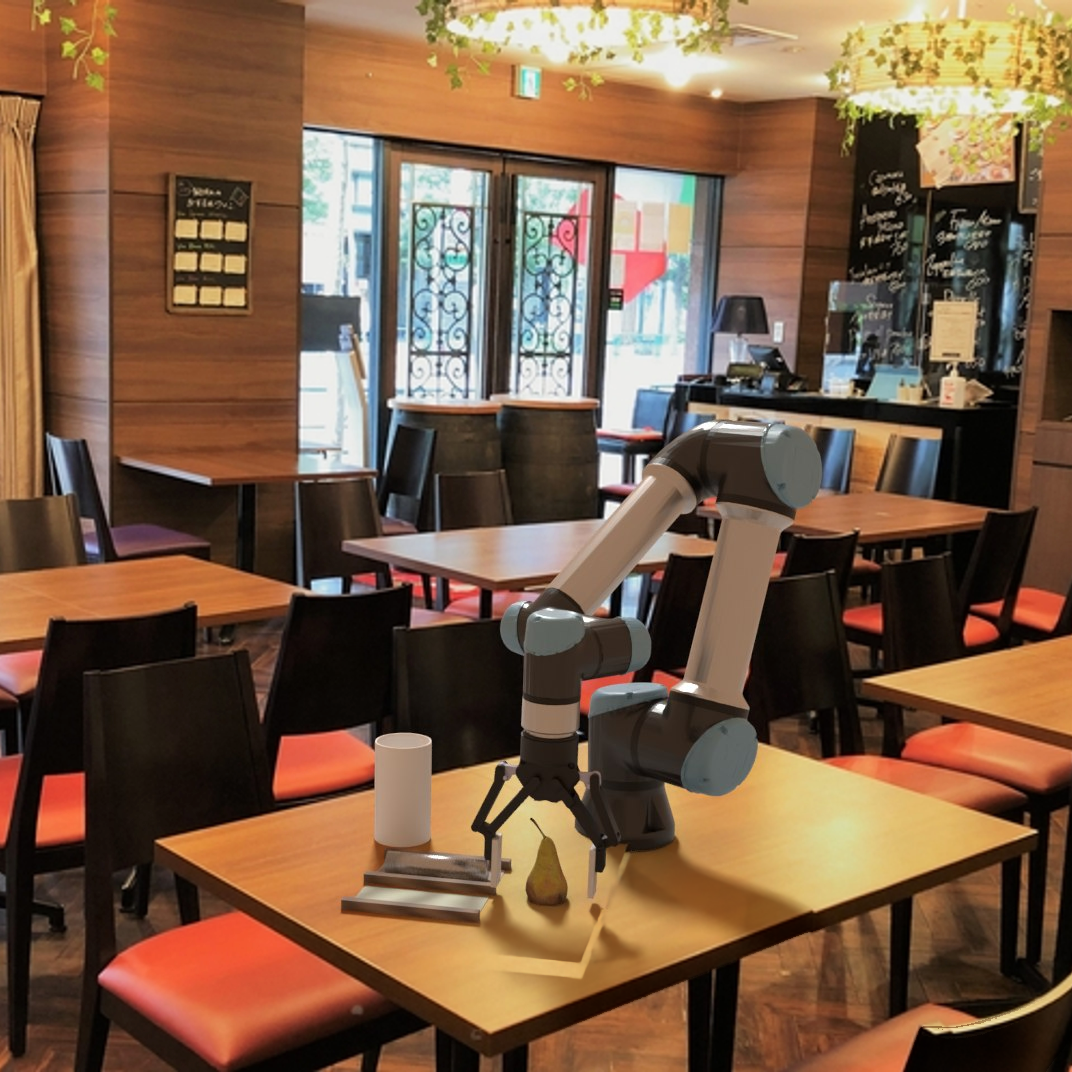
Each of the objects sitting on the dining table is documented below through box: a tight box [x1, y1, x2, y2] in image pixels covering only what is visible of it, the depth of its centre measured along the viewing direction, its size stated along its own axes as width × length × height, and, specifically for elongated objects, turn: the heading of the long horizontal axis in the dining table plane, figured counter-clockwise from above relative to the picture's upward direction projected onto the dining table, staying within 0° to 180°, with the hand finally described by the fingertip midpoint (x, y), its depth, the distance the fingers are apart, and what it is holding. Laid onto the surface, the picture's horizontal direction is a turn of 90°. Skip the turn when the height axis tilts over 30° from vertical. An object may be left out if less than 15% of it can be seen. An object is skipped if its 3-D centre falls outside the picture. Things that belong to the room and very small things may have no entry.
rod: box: [383, 851, 490, 882], centre depth 204 cm, size 14×3×3 cm
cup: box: [373, 732, 433, 848], centre depth 219 cm, size 8×8×16 cm
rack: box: [340, 847, 512, 924], centre depth 201 cm, size 18×20×3 cm
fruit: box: [525, 817, 569, 907], centre depth 197 cm, size 6×6×12 cm
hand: (543, 889), depth 197 cm, fingers open, 12 cm apart
